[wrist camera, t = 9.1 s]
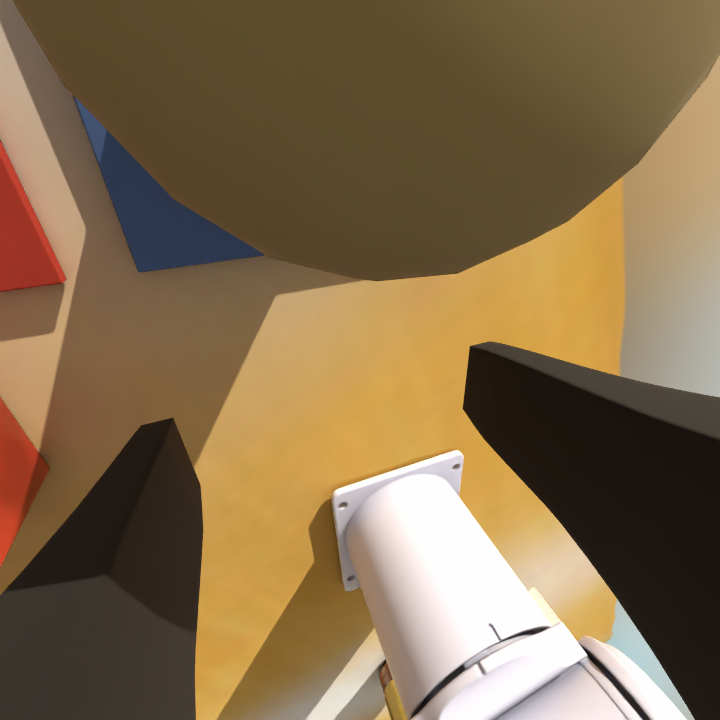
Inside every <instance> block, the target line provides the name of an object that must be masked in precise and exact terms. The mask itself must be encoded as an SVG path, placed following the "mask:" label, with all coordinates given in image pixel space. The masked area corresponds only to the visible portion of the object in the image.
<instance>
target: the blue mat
mask: <svg viewBox="0 0 720 720" xmlns="http://www.w3.org/2000/svg"><path fill="white" fill-rule="evenodd" d="M72 95H73V94H72ZM73 97H74V100H75V103H76V106H77V108H78V111H79V114H80V116H81V119H82V122H83V124H84V127H85V130H86V133H87V135H88V138H89V141H90V143H91V146H92V149H93V152H94V154H95V157H96V160H97V162H98V165H99V168H100V170H101V173H102V176H103V179H104V181H105V184H106V187H107V189H108V192H109V195H110V197H111V200H112V203H113V206H114V208H115V211H116V214H117V216H118V219H119V222H120V224H121V227H122V230H123V233H124V235H125V238H126V241H127V243H128V246H129V249H130V252H131V254H132V257H133V260H134V262H135V265H136V268H137V270H138V272H148V271H155V270H162V269H169V268H176V267H184V266H191V265H198V264H205V263H213V262H220V261H227V260H234V259H241V258H249V257H256V256H263V255H264V254H263V253H261V252H260V251H258V250H256V249H255V248H253V247H251V246H250V245H248V244H246V243H245V242H243V241H241V240H240V239H238V238H237V237H235V236H233V235H232V234H230V233H228V232H227V231H225V230H223V229H222V228H220V227H218V226H217V225H215V224H214V223H212V222H210V221H209V220H207V219H205V218H204V217H202V216H200V215H199V214H197V213H195V212H194V211H192V210H190V209H189V208H187V207H186V206H184V205H182V204H181V203H179V202H177V201H176V200H174V199H173V198H172V197H171V196H170V195H169V194H168V193H167V192H166V191H165V190H164V189H163V188H162V187H161V186H160V185H159V184H158V183H157V181H156V180H155V179H154V178H153V177H152V176H151V175H150V174H149V173H148V172H147V171H146V170H145V169H144V168H143V167H142V166H141V165H140V164H139V163H138V162H137V161H136V160H135V159H134V158H133V156H132V155H131V154H130V153H129V152H128V151H127V150H126V149H125V148H124V147H123V146H122V145H121V144H120V143H119V142H118V141H117V140H116V139H115V138H114V137H113V136H112V135H111V134H110V133H109V132H108V130H107V129H106V128H105V127H104V126H103V125H102V124H101V123H100V122H99V121H98V120H97V119H96V118H95V117H94V116H93V115H92V114H91V113H90V112H89V111H88V110H87V109H86V108H85V107H84V106H83V104H82V103H81V102H80V101H79V100H78V99H77V98H76V97H75V96H74V95H73Z"/></svg>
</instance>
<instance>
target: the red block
mask: <svg viewBox="0 0 720 720" xmlns="http://www.w3.org/2000/svg"><path fill="white" fill-rule="evenodd" d="M48 471H49V467H48V466H47V464H46V463H45V461H44V460H43V458H42V457H41V455H40V454H39V453H38V451H37V450H36V448H35V447H34V445H33V444H32V442H31V441H30V440H29V438H28V437H27V435H26V434H25V432H24V431H23V429H22V428H21V426H20V425H19V424H18V422H17V421H16V419H15V418H14V416H13V415H12V413H11V412H10V411H9V409H8V408H7V406H6V405H5V403H4V402H3V400H2V399H1V397H0V567H1V565H2V563H3V561H4V559H5V557H6V555H7V553H8V551H9V549H10V547H11V545H12V543H13V541H14V539H15V537H16V535H17V533H18V531H19V529H20V527H21V525H22V523H23V521H24V519H25V517H26V515H27V513H28V511H29V509H30V507H31V505H32V503H33V501H34V499H35V497H36V495H37V493H38V491H39V489H40V487H41V485H42V483H43V481H44V479H45V477H46V475H47V473H48Z"/></svg>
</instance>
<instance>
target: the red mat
mask: <svg viewBox="0 0 720 720" xmlns="http://www.w3.org/2000/svg"><path fill="white" fill-rule="evenodd" d="M65 280H66V277H65V275H64V273H63V271H62V269H61V266H60V264H59V262H58V260H57V258H56V256H55V254H54V252H53V250H52V248H51V246H50V243H49V241H48V239H47V237H46V235H45V233H44V231H43V229H42V227H41V225H40V222H39V220H38V218H37V216H36V214H35V212H34V210H33V208H32V206H31V204H30V201H29V199H28V197H27V195H26V193H25V191H24V189H23V187H22V185H21V183H20V181H19V178H18V176H17V174H16V172H15V170H14V168H13V166H12V164H11V162H10V160H9V157H8V155H7V153H6V151H5V149H4V147H3V145H2V143H1V141H0V292H3V291H10V290H18V289H25V288H32V287H39V286H47V285H54V284H61V283H63V282H64V281H65Z"/></svg>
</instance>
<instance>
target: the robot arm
mask: <svg viewBox="0 0 720 720" xmlns="http://www.w3.org/2000/svg"><path fill="white" fill-rule="evenodd" d="M463 410H464V411H465V413H466V414H467V416H468V417H469V419H470V420H471V422H472V423H473V425H474V426H475V427H476V429H477V430H478V431H479V433H480V434H481V436H482V437H483V438H484V439H485V441H486V442H487V443H488V444H489V445H490V446H491V447H492V448H493V449H494V451H495V452H496V453H497V454H498V455H499V456H500V457H501V458H502V459H503V460H504V461H505V463H506V464H507V465H508V466H509V467H510V468H511V469H512V470H513V471H514V472H515V473H516V474H517V475H518V476H519V478H520V479H521V480H522V481H523V482H524V483H525V484H526V485H527V486H528V487H529V488H530V489H531V490H532V491H533V492H534V494H535V495H536V496H537V497H538V498H539V499H540V500H541V501H542V502H543V503H544V504H545V505H546V506H547V508H548V509H549V510H550V511H551V512H552V513H553V515H554V516H555V517H556V518H557V519H558V520H559V522H560V523H561V524H562V525H563V527H564V528H565V529H566V531H567V532H568V533H569V534H570V536H571V537H572V538H573V540H574V541H575V542H576V544H577V545H578V546H579V547H580V549H581V550H582V551H583V553H584V554H585V555H586V556H587V558H588V559H589V561H590V562H591V563H592V565H593V566H594V567H595V569H596V570H597V572H598V573H599V574H600V576H601V577H602V578H603V580H604V581H605V583H606V584H607V585H608V587H609V588H610V589H611V591H612V592H613V594H614V595H615V596H616V598H617V599H618V601H619V602H620V604H621V605H622V607H623V608H624V610H625V611H626V612H627V614H628V615H629V617H630V618H631V620H632V621H633V623H634V624H635V626H636V627H637V629H638V630H639V632H640V633H641V635H642V636H643V638H644V639H645V641H646V642H647V644H648V645H649V646H650V648H651V649H652V651H653V653H654V654H655V656H656V657H657V659H658V660H659V662H660V664H661V665H662V667H663V669H664V670H665V672H666V673H667V675H668V677H669V678H670V680H671V681H672V683H673V685H674V686H675V688H676V689H677V691H678V693H679V694H680V696H681V697H682V699H683V700H684V702H685V704H686V705H687V707H688V709H689V710H690V712H691V714H692V715H693V717H694V719H695V720H720V398H719V397H714V396H707V395H702V394H697V393H692V392H687V391H682V390H677V389H672V388H666V387H662V386H658V385H653V384H649V383H644V382H640V381H636V380H632V379H628V378H624V377H620V376H616V375H612V374H608V373H605V372H601V371H597V370H594V369H590V368H586V367H583V366H579V365H576V364H572V363H569V362H566V361H562V360H559V359H555V358H552V357H549V356H545V355H542V354H538V353H535V352H531V351H528V350H524V349H521V348H517V347H513V346H509V345H505V344H501V343H496V342H485V343H481V344H477V345H473V346H470V351H469V359H468V368H467V377H466V386H465V394H464V403H463ZM463 460H464V456H463V455H462V453H461V452H460V451H458V450H455V451H451V452H448V453H445V454H442V455H439V456H436V457H433V458H430V459H427V460H424V461H421V462H418V463H415V464H411V465H408V466H405V467H402V468H399V469H396V470H393V471H390V472H387V473H384V474H381V475H378V476H375V477H372V478H369V479H366V480H363V481H359V482H356V483H353V484H350V485H347V486H344V487H341V488H338V489H336V490H335V491H334V492H333V493H332V495H331V502H332V509H333V516H334V523H335V530H336V537H337V544H338V552H339V559H340V566H341V573H342V580H343V586H344V589H345V590H346V591H352V590H355V589H357V588H360V587H361V590H362V593H363V595H364V598H365V601H366V604H367V607H368V610H369V612H370V615H371V618H372V621H373V624H374V627H375V630H376V632H377V635H378V638H379V641H380V644H381V647H382V650H383V652H384V655H385V658H386V661H387V664H388V667H389V669H390V672H391V675H392V678H393V681H394V683H395V686H396V688H397V691H398V694H399V697H400V699H401V702H402V705H403V708H404V711H405V714H406V716H407V719H408V720H687V719H686V718H685V717H684V716H683V715H682V713H681V712H680V711H679V710H678V709H677V708H676V706H675V705H674V704H673V703H672V702H671V701H670V700H669V698H668V697H667V696H666V695H665V694H664V693H663V692H662V691H661V690H660V688H659V687H657V685H656V684H655V683H654V682H653V681H652V680H651V679H650V678H649V677H648V676H647V675H646V674H645V673H644V672H643V671H642V670H641V669H640V668H639V667H638V666H637V665H636V664H635V663H633V661H631V660H630V659H629V658H628V657H627V656H625V655H624V654H623V653H622V652H620V651H619V650H617V649H616V648H614V647H612V646H610V645H608V644H605V643H602V642H599V641H598V640H596V639H595V638H592V637H589V636H583V637H581V638H580V639H579V640H578V641H576V639H575V638H574V637H573V635H572V634H571V633H570V631H569V630H568V629H567V627H566V626H565V625H564V624H563V622H558V623H557V624H555V625H554V626H553V625H552V624H551V622H550V621H549V620H548V618H547V617H546V616H545V614H544V613H543V611H542V610H541V609H540V607H539V606H538V605H537V603H536V602H535V600H534V599H533V598H532V596H531V595H530V594H529V592H528V591H527V590H526V588H525V587H524V585H523V584H522V583H521V581H520V580H519V579H518V577H517V576H516V574H515V573H514V572H513V570H512V569H511V568H510V566H509V565H508V563H507V562H506V561H505V559H504V558H503V557H502V555H501V554H500V553H499V551H498V550H497V548H496V547H495V546H494V544H493V543H492V542H491V540H490V539H489V537H488V536H487V535H486V533H485V532H484V531H483V529H482V528H481V527H480V525H479V524H478V522H477V521H476V520H475V518H474V517H473V516H472V514H471V513H470V511H469V510H468V509H467V507H466V506H465V505H464V503H463V502H462V500H461V499H460V498H459V491H460V483H461V476H462V468H463ZM202 541H203V517H202V501H201V487H200V483H199V481H198V478H197V476H196V473H195V471H194V468H193V466H192V463H191V461H190V458H189V456H188V453H187V451H186V448H185V446H184V443H183V441H182V438H181V436H180V433H179V431H178V429H177V426H176V424H175V421H174V419H173V418H170V419H166V420H162V421H157V422H153V423H149V424H145V425H141V426H140V427H139V429H138V430H137V431H136V432H135V434H134V435H133V436H132V437H131V439H130V440H129V441H128V443H127V444H126V445H125V447H124V448H123V449H122V450H121V452H120V453H119V454H118V456H117V457H116V458H115V460H114V461H113V462H112V464H111V465H110V466H109V468H108V469H107V470H106V471H105V473H104V474H103V475H102V477H101V478H100V479H99V480H98V482H97V483H96V484H95V485H94V487H93V488H92V489H91V490H90V492H89V493H88V494H87V496H86V497H85V498H84V499H83V501H82V502H81V503H80V504H79V506H78V507H77V508H76V509H75V511H74V512H73V513H72V514H71V515H70V516H69V518H68V519H67V520H66V521H65V522H64V523H63V525H62V526H61V527H60V528H59V529H58V530H57V532H56V533H55V534H54V535H53V536H52V537H51V539H50V540H49V541H48V542H47V543H46V544H45V546H44V547H43V548H42V549H41V550H40V551H39V553H38V554H37V555H36V556H35V557H34V558H33V560H32V561H31V562H30V563H29V564H28V565H27V567H26V568H25V569H24V570H23V571H22V572H21V573H20V574H19V575H18V577H17V578H16V579H15V580H14V581H13V582H12V583H11V584H10V585H9V586H8V588H7V589H6V590H5V591H4V592H3V593H2V594H1V595H0V720H196V710H195V647H196V632H197V617H198V602H199V588H200V573H201V557H202Z"/></svg>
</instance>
